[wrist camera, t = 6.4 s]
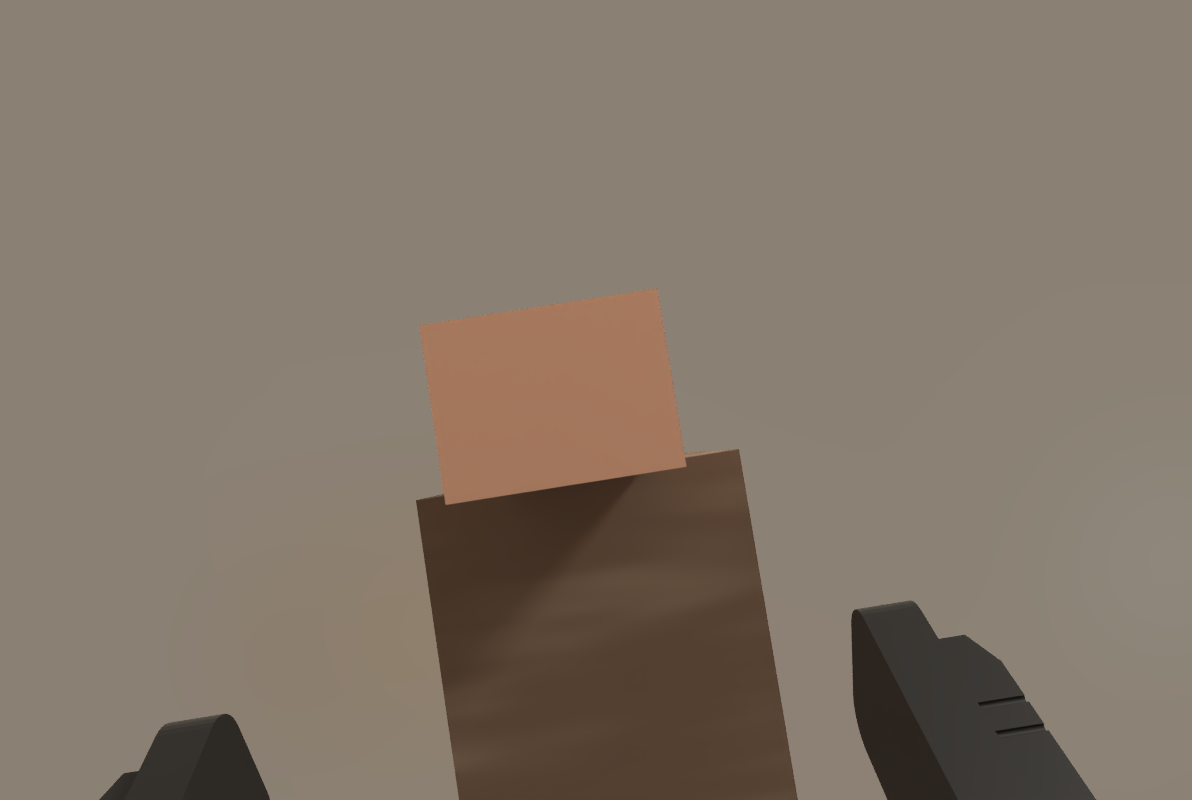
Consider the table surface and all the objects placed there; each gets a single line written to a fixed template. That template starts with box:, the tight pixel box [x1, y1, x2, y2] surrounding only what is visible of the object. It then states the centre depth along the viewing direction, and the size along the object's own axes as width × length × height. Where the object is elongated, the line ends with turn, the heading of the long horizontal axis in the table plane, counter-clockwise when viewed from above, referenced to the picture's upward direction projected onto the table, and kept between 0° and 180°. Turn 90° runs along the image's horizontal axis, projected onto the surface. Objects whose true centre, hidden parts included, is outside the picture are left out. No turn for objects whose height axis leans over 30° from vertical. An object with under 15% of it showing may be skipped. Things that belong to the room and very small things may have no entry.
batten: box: [420, 289, 686, 505], centre depth 27 cm, size 24×4×3 cm, turn 0°
